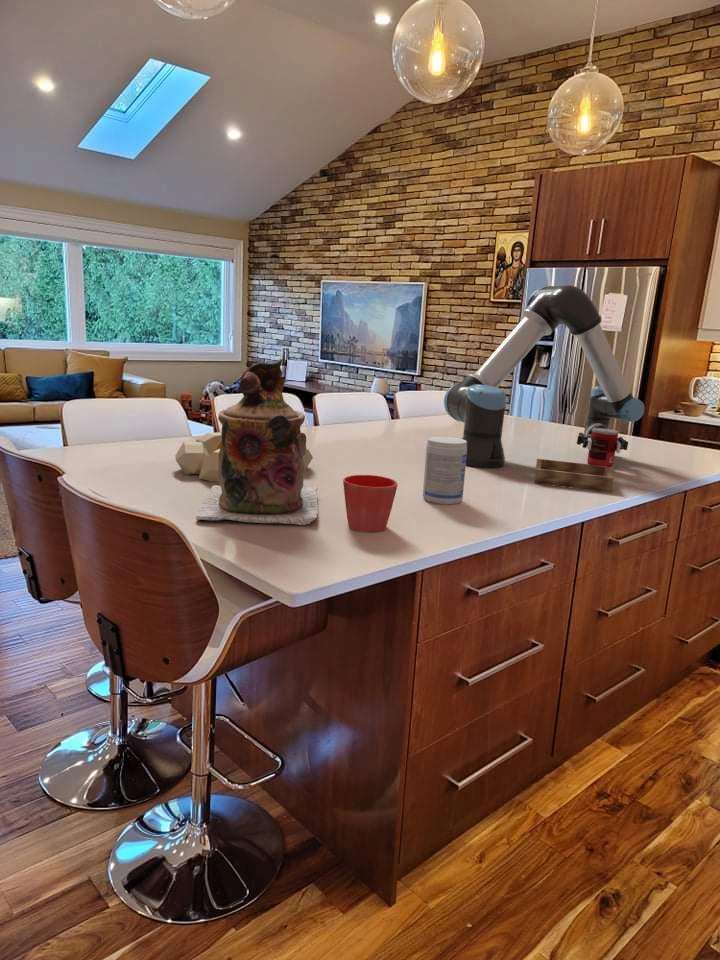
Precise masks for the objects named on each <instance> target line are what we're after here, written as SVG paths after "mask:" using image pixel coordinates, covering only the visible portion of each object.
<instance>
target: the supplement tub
mask: <svg viewBox="0 0 720 960" xmlns="http://www.w3.org/2000/svg"><path fill="white" fill-rule="evenodd" d="M466 457H467V441H466V440H463V439H462V438H458V437H450V436H433V437H432V436H431V437H428V438H427V442H426V449H425V458H424V459H425V461H424V472H423V473H424V475H423V488H422V497H423V499H424V500H425V501H427V502H429V503H433V504H438V505H457V504H459V503H461V502H462V500H463V499H464V498H463V497H464V489H465V488H464V487H465V486H464V485H465V478H466V477H465V476H466V467H467V465H466Z"/></svg>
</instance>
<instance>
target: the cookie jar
mask: <svg viewBox="0 0 720 960" xmlns="http://www.w3.org/2000/svg"><path fill="white" fill-rule="evenodd" d="M282 363H283V359H282V358H279V359H278V360H277V361H276V362H258V363H257V362H256V363H254V364H252V365H251V366H250V367H248V368H247V369H246V370H245V371H243V373H242V374H241V377H240V381H239V383H238V387H239V388H240V390H241V392H242V395H243V397H242V398H241V399H240V400H239V401H238V402H237V403H235V404H233V405H231V406H229V408H228V407H227V408H226V409H223V410H221V411H219V412H218V416H217V417H218V418H217V419H218V421H219V423H220V424H221V436H222V441H221V448H220V451H219V455H218V461H219V471H218V481H219V482H218V484H219V485H212V486H211V488H210V491H209V493H208V495H207V496H206V498H204V500H203V501H202V505H201V507H200V510H198V512H197V514H196V515H195V520H196V521H200V520H201V521H202V520H204V521H223V520H224V521H225V520H231V521H238V522H242V523H256V524H257V523H259V524H281V525H282V524H286V525H299V526H306V525H310V523H312V522H313V521H315V520H316V519H317V517H318V516H319V505H318V497H317V494H318V489H319V488H318V487H317V486H311V487H310V486H309V487H304V476H305V470H304V463H303V456H304V455H305V453H306V446H307V435H306V433H305V432H302V431H301V428H302V427H301V426H302V425H303V424H304V422H305V418H306V416H305V414H304V413H302V412H300V411H298V410H294V409H293V407H292V406H291V405H290V404H288V403H287V402H285V399H284V396H283V391H284V388H285V379H284V378H283V376H282V375H283V370H282V368H281V366H282Z"/></svg>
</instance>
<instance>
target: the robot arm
mask: <svg viewBox="0 0 720 960" xmlns="http://www.w3.org/2000/svg"><path fill="white" fill-rule="evenodd" d="M601 323H602V317H601V315H600V312H599V310H598V309H597V307H596V306H595V304H594V302H593V301H592V300H591V298H590V296H589V295H588V294H587V293H586V292H585V291H584V290H583V289H582V288H579V287H578V286H575V285H571V284H569V285H567V284H566V285H554V286H553V285H547V286H543V287H540V288H538V289H536V290H535V291H533V292H532V293H531V294H530V296H529V297H528V299H527V300H526V306H525V308H524V310H523V311H522V319H521V320H520V322H519V323H518V324H517V325H516V326H515V327H514V328H513V330H511V332H510V333H509V334H508V335H507V336H506V338H505V339H504V340H502V342H501V343H500V344H499V345H498V346H497V348H496V349H495V350H494V351H493V352H492V353H491V354H490V356H489V357H488V358H487V359H486V360H485V362H484V363H483V364H482V365H481V366H480V368H478V370H477V371H476V372H475V373H469V374H467V375H466V376H465V377H464V378H463V380H462V381H461V382H459V383H455V384H454V385H452V386H451V387H449V388H448V389H447V391H446V392H445V395H444V399H443V406H444V409H445V412H446V414H447V415H448V416H449V417H450V418H452V419H454V420H455V421H458V422H461V423H463V433H462V434H463V435H462V438H461V439H463V440H466V441H467V457H466V466H469V467H475V468H476V467H477V468H485V469H488V468H489V469H491V468H501V467H504V466H505V461H506V457H505V453H504V452H505V451H504V447H503V441H502V436H503V427H504V420H505V413H506V412H505V411H506V405H507V395H506V392H505V390H503V389H502V388H500V385H502V383H504V381H506V379H507V378H508V376H509V375H510V374H511V373H512V372H513V371H514V370H515V368H516V367H517V366H518V365H519V364H520V363H521V362H522V361H523V359H524V358H526V356H527V355H528V353H530V351H532V349H533V348H534V347H535V345H537V343H538V342H539V341H540V340H541V339H542V338H543V337H544V336H550V335H552V333H553V332H554V331H555V330H556V329H557V328H558V326H559V325H564V326H566V327H567V329H568V331H569V332H570V334H571V336H573V337H576V338H577V340H578V342H579V345H580V348H581V349H582V351H583V353H584V356H585V357H586V360H587V362H588V364H589V365H590V367H591V370H592V372H593V373H594V376H595V377H596V379H597V382H598V384H599V386H596V385H595V386H594V387H592V389H591V394H590V396H589V406H588V413H587V417H586V424H585V426H584V432H579V433H578V436H577V440H576V445H582V448H584V449H587V450H588V451H589V450H591V444H592V440H591V434H592V429H594V428H603V429H610V423H611V422H610V421H611V418H612V419H616V420H620V421H622V422H630V423H634V422H637V421H640V419H641V418H642V417H643V415H644V413H645V404H644V403H643V401H641V400H640V399H638V398H635V397H634V396H633V394H632V392H631V390H630V387H629V386H628V385H629V384H628V382H627V380H626V379H625V377H624V374H623V372H622V370H621V367H620V365H619V363H618V361H617V359H616V357H615V354H614V353H613V350H612V348H611V346H610V343H609V341H608V339H607V337H606V334H605V332H604V330H603V328H602V326H601ZM628 446H629V441H627V440H626V439H625V438H624V437H622V436H618V439H617V444H616V450H615V453H617V454H620V453H621V450H624V451H628Z"/></svg>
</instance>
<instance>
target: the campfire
mask: <svg viewBox="0 0 720 960" xmlns="http://www.w3.org/2000/svg"><path fill="white" fill-rule="evenodd" d="M229 407H230V406H229ZM229 407H227V408H229ZM221 432H222V431H221ZM221 432H220V431H218V432H207V433H205V434H204V435H201V436H199V437H197V438H196V439H195V441H183V442H182V444H181V446H180V447H179V449H178V450H177V452H176V454H175V461H176V463H177V465H178V466H179V468H180V469H181V471H182V472H183V474H184V473H185V474H184V475H199V476H198V478H199V479H202V480H205V481H209V482H213V481H214V482H216V483H219V481H218V471H219V461H218V455H219V451H220V448H221V441H222V436H221ZM313 459H314V457H313V455H312V453H311V452H310V449H309V447H308V446H307V445H306V453H305V455H304V456H303V463H304V471H306V470H307V468H308V466H309V465H310V463H311V462H312V460H313Z"/></svg>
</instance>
